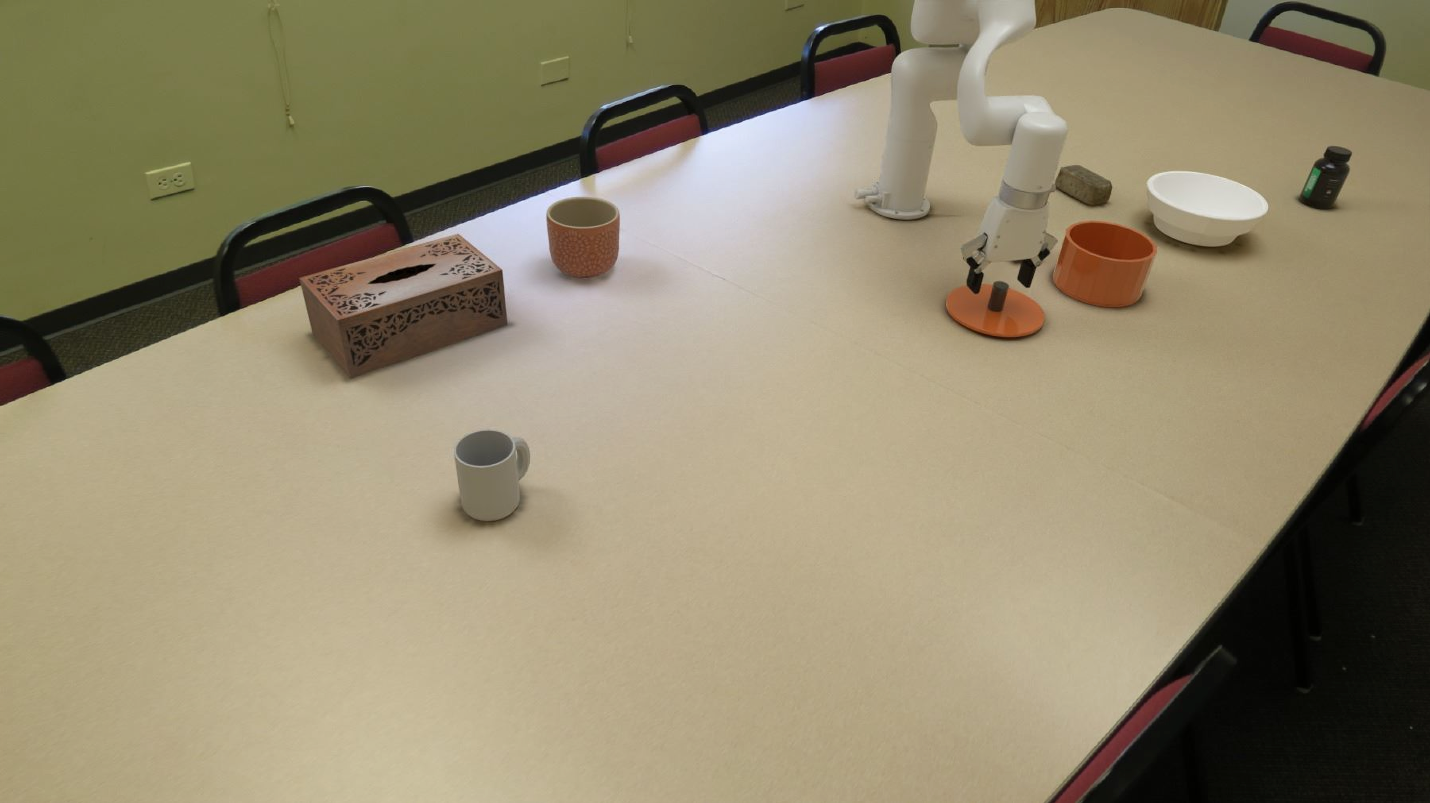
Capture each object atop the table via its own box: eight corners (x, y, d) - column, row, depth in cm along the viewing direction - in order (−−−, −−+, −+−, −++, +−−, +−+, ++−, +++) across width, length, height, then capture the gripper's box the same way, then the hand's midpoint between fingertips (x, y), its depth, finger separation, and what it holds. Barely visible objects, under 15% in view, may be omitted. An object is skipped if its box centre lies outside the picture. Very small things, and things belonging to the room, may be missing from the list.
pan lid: (974, 345, 155) (982, 315, 151) (928, 294, 167) (934, 266, 164) (1061, 334, 159) (1071, 304, 156) (1010, 285, 171) (1018, 257, 168)
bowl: (1246, 220, 199) (1262, 182, 194) (1258, 268, 182) (1275, 228, 177) (1133, 200, 204) (1146, 163, 199) (1134, 245, 187) (1148, 205, 182)
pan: (1084, 311, 165) (1099, 265, 160) (1036, 268, 177) (1048, 224, 172) (1158, 302, 169) (1176, 257, 164) (1107, 261, 181) (1121, 217, 176)
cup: (449, 503, 119) (441, 448, 114) (512, 465, 126) (507, 411, 120) (486, 531, 116) (479, 476, 110) (549, 491, 122) (545, 437, 117)
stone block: (1090, 208, 200) (1096, 186, 197) (1050, 187, 208) (1056, 165, 205) (1109, 204, 202) (1116, 181, 199) (1070, 183, 210) (1076, 161, 207)
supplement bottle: (1299, 205, 206) (1323, 152, 199) (1297, 193, 212) (1320, 141, 204) (1334, 212, 205) (1360, 158, 197) (1331, 200, 210) (1355, 147, 203)
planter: (632, 262, 171) (632, 206, 165) (597, 293, 162) (595, 234, 155) (573, 246, 175) (571, 190, 169) (535, 274, 166) (531, 217, 159)
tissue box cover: (350, 378, 139) (337, 320, 133) (312, 334, 148) (299, 277, 142) (507, 325, 153) (502, 269, 147) (464, 287, 161) (458, 233, 155)
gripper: (1058, 179, 155) (1031, 270, 166) (963, 187, 151) (941, 280, 161) (1084, 199, 150) (1054, 293, 160) (987, 208, 145) (962, 304, 156)
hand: (998, 286), depth 161 cm, fingers open, 9 cm apart
